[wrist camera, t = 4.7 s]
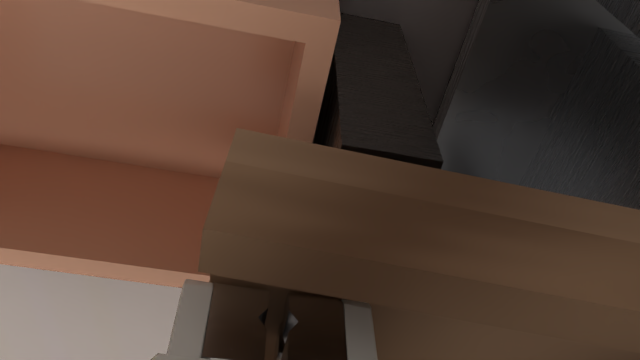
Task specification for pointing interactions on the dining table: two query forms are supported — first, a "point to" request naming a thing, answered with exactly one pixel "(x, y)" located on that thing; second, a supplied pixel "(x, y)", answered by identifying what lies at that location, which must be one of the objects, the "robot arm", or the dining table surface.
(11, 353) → the dining table surface
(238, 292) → the robot arm
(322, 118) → the stand
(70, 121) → the pink open box
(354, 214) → the brown wooden tray
